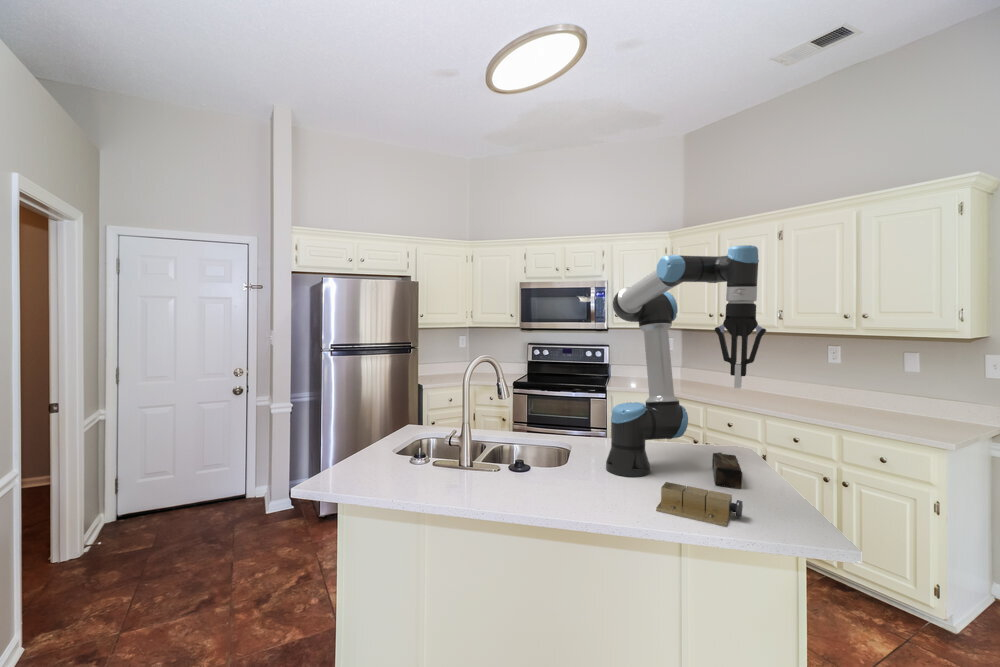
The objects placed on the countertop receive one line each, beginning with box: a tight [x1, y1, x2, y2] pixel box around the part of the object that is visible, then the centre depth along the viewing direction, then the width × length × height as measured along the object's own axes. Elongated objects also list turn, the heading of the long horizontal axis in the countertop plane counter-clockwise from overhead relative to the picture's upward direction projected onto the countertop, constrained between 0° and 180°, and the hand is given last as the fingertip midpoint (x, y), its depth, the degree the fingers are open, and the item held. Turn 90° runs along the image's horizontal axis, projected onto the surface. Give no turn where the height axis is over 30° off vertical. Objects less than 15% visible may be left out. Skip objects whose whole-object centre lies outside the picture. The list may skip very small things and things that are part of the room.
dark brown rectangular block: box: [711, 451, 743, 490], centre depth 163 cm, size 8×19×7 cm, turn 159°
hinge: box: [655, 481, 733, 527], centre depth 138 cm, size 18×15×5 cm
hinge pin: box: [729, 499, 744, 518], centre depth 137 cm, size 19×4×4 cm, turn 57°
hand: (737, 387), depth 134 cm, fingers closed
